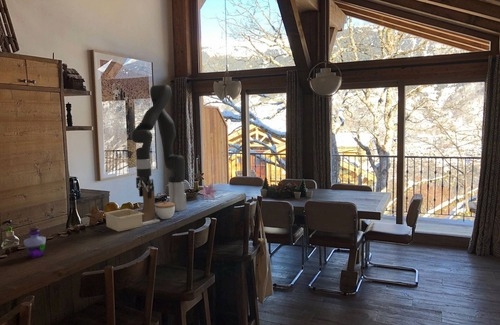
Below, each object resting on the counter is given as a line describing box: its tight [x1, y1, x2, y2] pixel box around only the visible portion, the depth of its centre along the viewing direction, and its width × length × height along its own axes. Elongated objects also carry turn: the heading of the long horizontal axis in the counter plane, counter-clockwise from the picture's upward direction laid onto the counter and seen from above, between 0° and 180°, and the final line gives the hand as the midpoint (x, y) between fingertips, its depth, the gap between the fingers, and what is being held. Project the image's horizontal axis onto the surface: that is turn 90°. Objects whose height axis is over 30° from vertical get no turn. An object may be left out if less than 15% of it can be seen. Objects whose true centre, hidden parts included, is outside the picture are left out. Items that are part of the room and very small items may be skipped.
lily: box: [198, 183, 218, 200], centre depth 275 cm, size 12×12×10 cm
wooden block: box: [140, 186, 157, 222], centre depth 213 cm, size 9×4×18 cm, turn 148°
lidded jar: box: [155, 200, 176, 220], centre depth 222 cm, size 11×11×9 cm
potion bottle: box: [23, 226, 47, 259], centre depth 162 cm, size 9×9×12 cm
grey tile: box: [142, 218, 161, 226], centre depth 214 cm, size 10×11×1 cm
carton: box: [103, 208, 144, 232], centre depth 205 cm, size 13×18×7 cm
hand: (145, 197), depth 213 cm, fingers open, 8 cm apart
